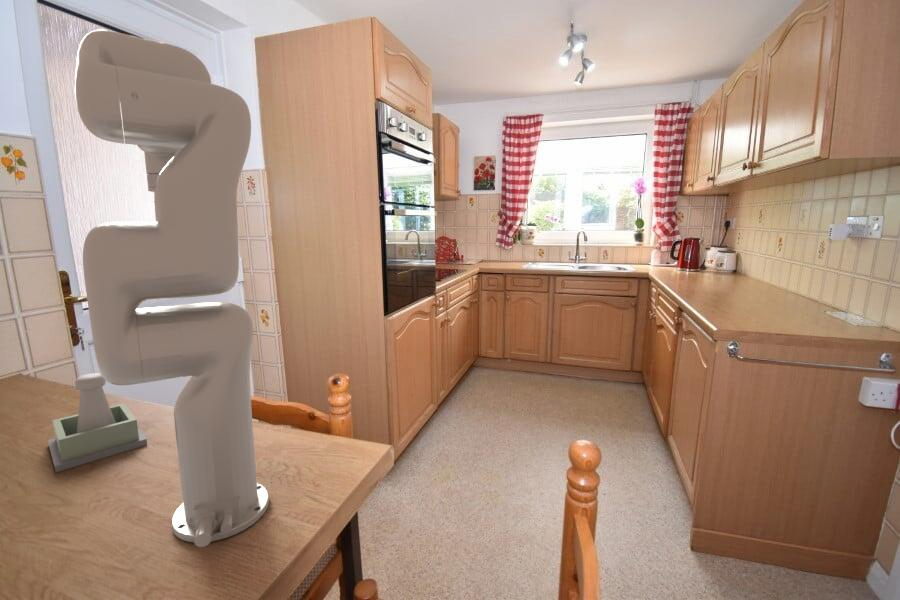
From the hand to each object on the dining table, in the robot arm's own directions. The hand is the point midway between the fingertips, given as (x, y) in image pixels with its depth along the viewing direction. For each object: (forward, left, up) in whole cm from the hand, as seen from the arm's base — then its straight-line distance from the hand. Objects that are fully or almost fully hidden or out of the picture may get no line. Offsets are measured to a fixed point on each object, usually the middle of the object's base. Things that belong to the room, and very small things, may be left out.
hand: (177, 266), depth 90 cm
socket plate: (-11, +14, -33) cm, 38 cm away
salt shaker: (-11, +14, -32) cm, 37 cm away
